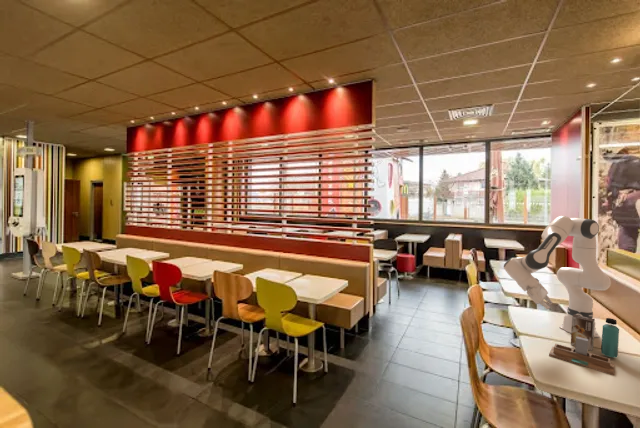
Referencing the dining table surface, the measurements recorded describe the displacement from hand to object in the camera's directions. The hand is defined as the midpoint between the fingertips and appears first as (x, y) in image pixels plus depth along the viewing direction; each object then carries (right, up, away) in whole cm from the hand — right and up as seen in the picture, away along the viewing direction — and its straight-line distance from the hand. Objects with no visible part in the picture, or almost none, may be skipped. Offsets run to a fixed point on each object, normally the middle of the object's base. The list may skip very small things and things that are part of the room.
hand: (550, 306), depth 165 cm
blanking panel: (+6, -23, -12) cm, 26 cm away
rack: (+6, -24, -12) cm, 27 cm away
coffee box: (+21, -24, +5) cm, 32 cm away
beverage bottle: (+25, -24, -7) cm, 35 cm away
